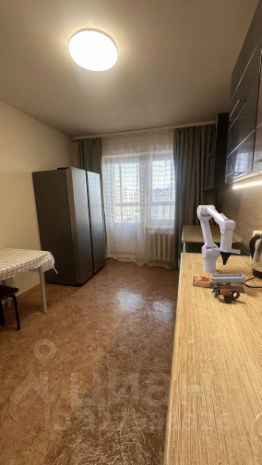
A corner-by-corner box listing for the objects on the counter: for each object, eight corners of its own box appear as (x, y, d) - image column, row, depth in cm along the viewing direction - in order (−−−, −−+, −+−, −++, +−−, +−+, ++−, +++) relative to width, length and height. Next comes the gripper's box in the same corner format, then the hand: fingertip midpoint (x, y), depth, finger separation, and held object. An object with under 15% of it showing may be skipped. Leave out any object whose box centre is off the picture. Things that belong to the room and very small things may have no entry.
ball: (199, 282, 113) (195, 278, 113) (203, 279, 112) (200, 275, 112) (198, 284, 110) (195, 280, 110) (203, 282, 109) (200, 277, 109)
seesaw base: (193, 277, 121) (194, 270, 120) (241, 283, 112) (241, 276, 112) (192, 287, 108) (192, 280, 107) (245, 295, 100) (246, 287, 99)
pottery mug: (214, 305, 92) (210, 287, 94) (214, 305, 100) (211, 288, 103) (243, 303, 87) (238, 284, 90) (241, 303, 96) (237, 285, 98)
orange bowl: (195, 279, 116) (195, 275, 116) (211, 281, 113) (211, 277, 113) (194, 285, 108) (195, 281, 108) (211, 288, 105) (212, 283, 105)
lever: (212, 276, 118) (212, 269, 117) (241, 275, 113) (240, 268, 112) (213, 285, 106) (213, 278, 105) (246, 285, 101) (245, 277, 100)
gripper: (212, 242, 111) (210, 265, 113) (242, 244, 106) (239, 268, 109) (212, 239, 117) (210, 261, 120) (239, 241, 113) (237, 264, 115)
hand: (224, 264), depth 115 cm, fingers closed
